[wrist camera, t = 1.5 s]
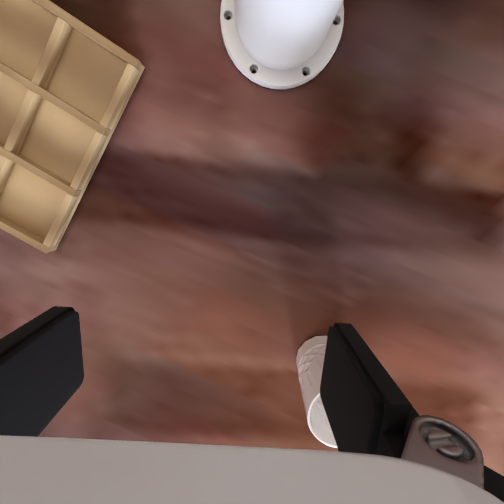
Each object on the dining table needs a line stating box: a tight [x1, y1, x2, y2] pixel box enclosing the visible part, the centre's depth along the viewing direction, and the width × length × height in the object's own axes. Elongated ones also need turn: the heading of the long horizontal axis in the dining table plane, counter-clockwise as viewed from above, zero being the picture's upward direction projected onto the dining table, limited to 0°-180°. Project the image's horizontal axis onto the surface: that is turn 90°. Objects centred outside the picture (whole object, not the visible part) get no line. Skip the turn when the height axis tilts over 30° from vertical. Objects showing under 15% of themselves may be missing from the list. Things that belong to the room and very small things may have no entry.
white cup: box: [296, 336, 338, 448], centre depth 32 cm, size 8×8×10 cm
